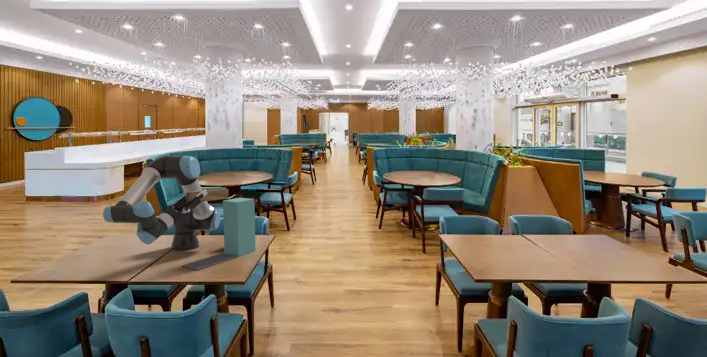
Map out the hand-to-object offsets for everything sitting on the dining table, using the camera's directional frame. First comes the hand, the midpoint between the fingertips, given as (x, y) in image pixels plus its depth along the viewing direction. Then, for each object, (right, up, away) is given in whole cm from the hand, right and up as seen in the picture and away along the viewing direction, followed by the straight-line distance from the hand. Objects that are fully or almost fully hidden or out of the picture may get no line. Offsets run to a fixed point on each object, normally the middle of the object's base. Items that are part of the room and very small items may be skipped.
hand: (202, 190), depth 225 cm
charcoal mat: (+2, -38, +7) cm, 38 cm away
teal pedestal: (+13, -36, +25) cm, 45 cm away
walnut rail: (+2, -5, +3) cm, 6 cm away
